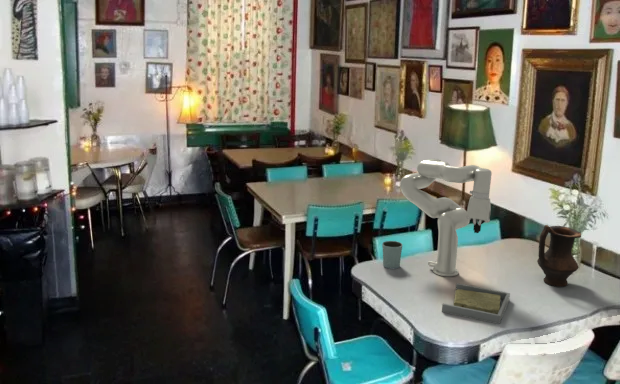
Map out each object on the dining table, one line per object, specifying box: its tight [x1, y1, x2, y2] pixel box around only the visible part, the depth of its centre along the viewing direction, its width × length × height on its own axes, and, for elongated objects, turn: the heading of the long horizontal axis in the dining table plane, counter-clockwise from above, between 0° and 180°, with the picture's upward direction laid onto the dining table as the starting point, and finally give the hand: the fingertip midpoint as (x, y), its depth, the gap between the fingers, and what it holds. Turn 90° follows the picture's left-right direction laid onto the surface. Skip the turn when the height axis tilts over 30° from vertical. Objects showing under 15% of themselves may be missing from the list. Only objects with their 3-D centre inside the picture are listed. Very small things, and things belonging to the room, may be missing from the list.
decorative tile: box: [453, 289, 501, 314], centre depth 272 cm, size 19×20×4 cm
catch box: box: [441, 282, 511, 325], centre depth 271 cm, size 24×27×4 cm
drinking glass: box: [382, 240, 403, 270], centre depth 316 cm, size 10×10×12 cm
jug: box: [536, 224, 582, 288], centre depth 296 cm, size 21×18×30 cm
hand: (476, 232), depth 292 cm, fingers closed
